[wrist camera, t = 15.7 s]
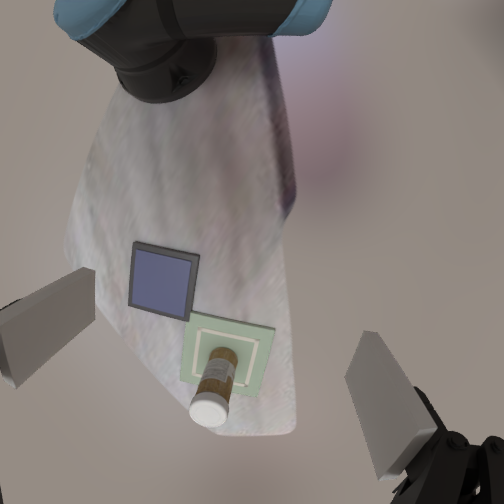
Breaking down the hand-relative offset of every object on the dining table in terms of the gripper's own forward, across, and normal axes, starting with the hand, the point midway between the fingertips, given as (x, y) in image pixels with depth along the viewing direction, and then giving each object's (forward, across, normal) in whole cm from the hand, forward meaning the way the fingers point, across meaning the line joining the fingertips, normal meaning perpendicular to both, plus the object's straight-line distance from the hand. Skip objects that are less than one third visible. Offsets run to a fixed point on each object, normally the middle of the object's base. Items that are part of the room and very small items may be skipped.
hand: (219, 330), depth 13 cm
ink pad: (+27, -12, -10) cm, 31 cm away
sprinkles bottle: (+26, 0, -19) cm, 33 cm away
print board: (+27, 0, -19) cm, 33 cm away
